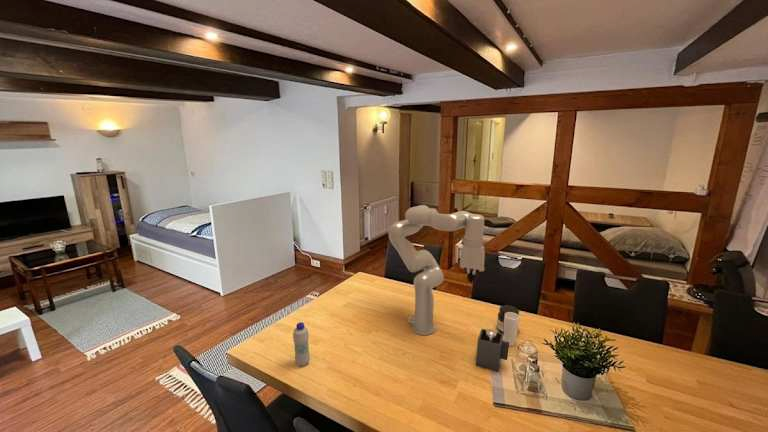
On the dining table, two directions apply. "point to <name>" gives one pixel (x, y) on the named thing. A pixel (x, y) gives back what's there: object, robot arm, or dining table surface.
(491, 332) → the plunger
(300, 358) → the bottle
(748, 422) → the dining table surface
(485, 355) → the block
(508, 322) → the drinking glass
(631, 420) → the dining table surface
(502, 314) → the supplement container
